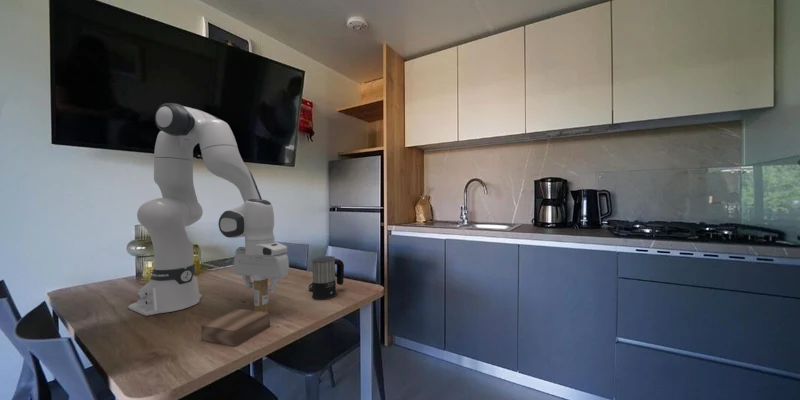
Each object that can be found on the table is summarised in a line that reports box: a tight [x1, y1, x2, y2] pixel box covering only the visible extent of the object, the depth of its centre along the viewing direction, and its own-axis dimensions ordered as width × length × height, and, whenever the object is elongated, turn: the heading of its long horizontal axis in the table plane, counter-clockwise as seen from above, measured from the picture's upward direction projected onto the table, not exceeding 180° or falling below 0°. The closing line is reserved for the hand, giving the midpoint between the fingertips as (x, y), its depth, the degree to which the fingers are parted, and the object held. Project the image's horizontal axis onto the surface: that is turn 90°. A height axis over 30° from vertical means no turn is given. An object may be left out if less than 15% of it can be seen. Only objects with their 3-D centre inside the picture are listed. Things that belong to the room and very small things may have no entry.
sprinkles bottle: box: [252, 275, 270, 313], centre depth 94 cm, size 5×5×14 cm
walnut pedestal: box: [200, 308, 271, 347], centre depth 81 cm, size 12×12×4 cm
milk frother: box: [307, 255, 345, 301], centre depth 114 cm, size 14×16×15 cm
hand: (260, 289), depth 94 cm, fingers open, 8 cm apart
